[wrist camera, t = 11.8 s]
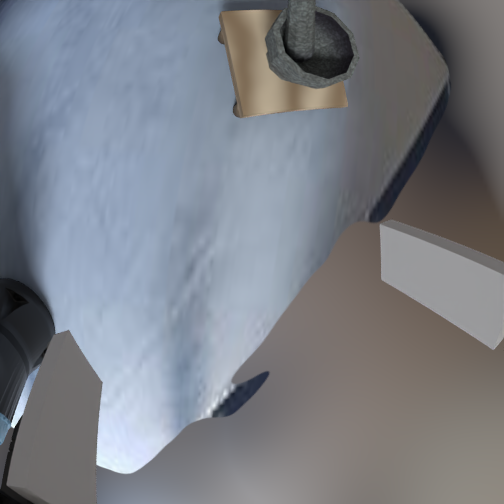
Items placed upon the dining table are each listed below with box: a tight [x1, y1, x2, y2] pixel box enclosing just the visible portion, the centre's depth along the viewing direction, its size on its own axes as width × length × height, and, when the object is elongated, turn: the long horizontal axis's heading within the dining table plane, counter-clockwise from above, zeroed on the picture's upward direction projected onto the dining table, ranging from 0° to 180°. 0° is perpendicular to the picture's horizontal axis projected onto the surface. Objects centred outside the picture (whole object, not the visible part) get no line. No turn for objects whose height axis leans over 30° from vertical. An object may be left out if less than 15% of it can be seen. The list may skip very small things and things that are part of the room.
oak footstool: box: [218, 10, 348, 118], centre depth 30 cm, size 14×14×6 cm
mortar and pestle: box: [265, 0, 359, 89], centre depth 22 cm, size 11×9×12 cm
